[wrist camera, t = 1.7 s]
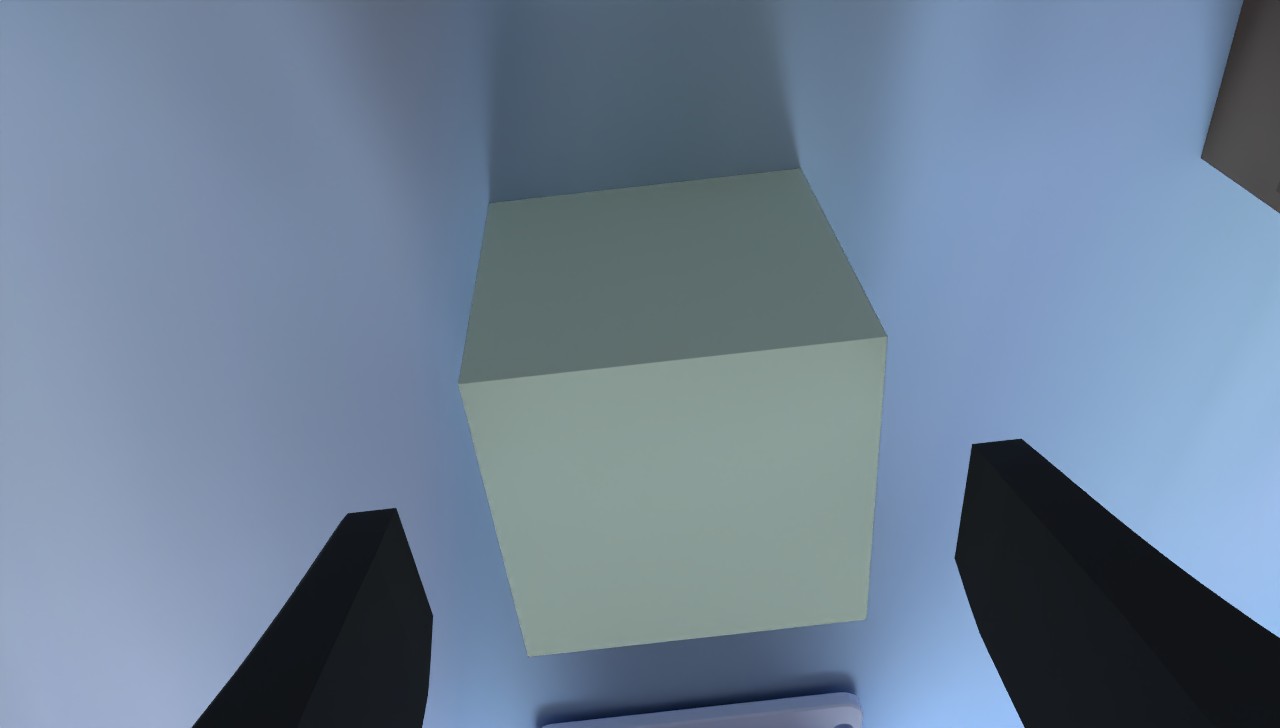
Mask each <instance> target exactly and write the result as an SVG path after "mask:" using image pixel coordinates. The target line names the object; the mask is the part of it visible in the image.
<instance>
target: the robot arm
mask: <svg viewBox="0 0 1280 728" xmlns="http://www.w3.org/2000/svg"><path fill="white" fill-rule="evenodd" d="M955 561H956V564H957V567H958V570H959V573H960V576H961V579H962V582H963V586H964V589H965V592H966V595H967V598H968V601H969V604H970V607H971V610H972V612H973V615H974V618H975V621H976V624H977V627H978V630H979V633H980V635H981V637H982V639H983V641H984V643H985V646H986V648H987V650H988V652H989V654H990V656H991V658H992V660H993V663H994V665H995V667H996V669H997V671H998V673H999V675H1000V677H1001V679H1002V682H1003V684H1004V686H1005V688H1006V690H1007V692H1008V694H1009V696H1010V698H1011V700H1012V702H1013V704H1014V707H1015V709H1016V711H1017V713H1018V715H1019V717H1020V719H1021V721H1022V723H1023V725H1024V727H1025V728H1280V638H1279V637H1277V636H1276V635H1274V634H1273V633H1271V632H1270V631H1268V630H1267V629H1265V628H1264V627H1262V626H1261V625H1259V624H1258V623H1256V622H1255V621H1253V620H1252V619H1251V618H1249V617H1248V616H1246V615H1245V614H1244V613H1242V612H1241V611H1239V610H1238V609H1237V608H1235V607H1234V606H1232V605H1231V604H1229V603H1228V602H1227V601H1225V600H1224V599H1222V598H1221V597H1220V596H1218V595H1217V594H1215V593H1214V592H1213V591H1211V590H1210V589H1208V588H1207V587H1205V586H1204V585H1203V584H1201V583H1200V582H1199V581H1197V580H1196V579H1195V578H1193V577H1192V576H1191V575H1189V574H1188V573H1187V572H1185V571H1184V570H1183V569H1181V568H1180V567H1179V566H1177V565H1176V564H1175V563H1173V562H1172V561H1171V560H1169V559H1168V558H1167V557H1165V556H1164V555H1163V554H1161V553H1160V552H1159V551H1158V550H1156V549H1155V548H1154V547H1153V546H1151V545H1150V544H1149V543H1147V542H1146V541H1145V540H1144V539H1142V538H1141V537H1140V536H1139V535H1137V534H1136V533H1135V532H1133V531H1132V530H1131V529H1130V528H1128V527H1127V526H1126V525H1125V524H1124V523H1122V522H1121V521H1120V520H1119V519H1117V518H1116V517H1115V516H1114V515H1112V514H1111V513H1110V512H1109V511H1108V510H1106V509H1105V508H1104V507H1103V506H1101V505H1100V504H1099V503H1098V502H1097V501H1095V500H1094V499H1093V498H1092V497H1091V496H1089V495H1088V494H1087V493H1086V492H1085V491H1083V490H1082V489H1081V488H1080V487H1079V486H1077V485H1076V484H1075V483H1074V482H1073V481H1071V480H1070V479H1069V478H1068V477H1067V476H1065V475H1064V474H1063V473H1062V472H1061V471H1060V470H1058V469H1057V468H1056V467H1055V466H1054V465H1052V464H1051V463H1050V462H1049V461H1048V460H1046V459H1045V458H1044V457H1043V456H1042V455H1040V454H1039V453H1038V452H1037V451H1036V450H1034V449H1033V448H1032V447H1031V446H1030V445H1028V444H1027V443H1026V442H1025V441H1023V440H1022V439H1015V440H1006V441H996V442H987V443H978V444H972V449H971V456H970V462H969V469H968V475H967V482H966V488H965V495H964V501H963V508H962V514H961V521H960V527H959V534H958V540H957V547H956V553H955ZM432 625H433V614H432V611H431V609H430V606H429V603H428V600H427V597H426V594H425V591H424V588H423V585H422V582H421V579H420V576H419V573H418V570H417V568H416V565H415V562H414V559H413V556H412V553H411V550H410V547H409V544H408V541H407V538H406V535H405V532H404V529H403V527H402V524H401V521H400V518H399V515H398V512H397V509H396V508H392V509H383V510H374V511H365V512H356V513H348V514H347V515H346V516H345V517H344V519H343V520H342V521H341V522H340V524H339V525H338V527H337V528H336V530H335V531H334V533H333V534H332V536H331V537H330V539H329V540H328V542H327V543H326V545H325V546H324V548H323V549H322V550H321V552H320V553H319V555H318V556H317V558H316V559H315V561H314V562H313V564H312V565H311V567H310V568H309V570H308V571H307V573H306V574H305V576H304V577H303V579H302V580H301V582H300V583H299V585H298V586H297V587H296V589H295V590H294V592H293V593H292V595H291V596H290V598H289V599H288V601H287V602H286V603H285V605H284V606H283V608H282V609H281V611H280V612H279V613H278V615H277V616H276V617H275V619H274V620H273V622H272V623H271V624H270V626H269V627H268V629H267V630H266V631H265V633H264V634H263V635H262V637H261V638H260V640H259V641H258V642H257V644H256V645H255V647H254V648H253V649H252V651H251V652H250V653H249V655H248V656H247V658H246V659H245V660H244V662H243V663H242V664H241V666H240V667H239V668H238V670H237V671H236V672H235V673H234V675H233V676H232V677H231V678H230V680H229V681H228V682H227V684H226V685H225V686H224V687H223V689H222V690H221V691H220V692H219V694H218V695H217V696H216V697H215V699H214V700H213V701H212V702H211V704H210V705H209V706H208V708H207V709H206V710H205V711H204V713H203V714H202V715H201V716H200V718H199V719H198V720H197V721H196V723H195V724H194V725H193V726H192V728H422V725H423V719H424V714H425V708H426V702H427V697H428V688H429V674H430V661H431V643H432ZM862 721H863V712H862V708H861V705H860V701H859V698H858V697H856V696H855V695H854V694H851V693H847V692H837V693H828V694H819V695H810V696H801V697H792V698H783V699H774V700H764V701H755V702H746V703H737V704H728V705H719V706H710V707H701V708H692V709H683V710H674V711H664V712H655V713H646V714H637V715H628V716H619V717H610V718H601V719H592V720H583V721H574V722H565V723H555V724H549V725H545V726H543V727H541V728H862Z"/></svg>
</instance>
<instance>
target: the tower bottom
mask: <svg viewBox="0 0 1280 728" xmlns="http://www.w3.org/2000/svg"><path fill="white" fill-rule="evenodd" d="M1201 158H1202V159H1203V160H1204V161H1206V162H1207V163H1209V164H1210V165H1212V166H1213V167H1214V168H1216V169H1217V170H1219V171H1220V172H1222V173H1223V174H1224V175H1226V176H1227V177H1229V178H1230V179H1232V180H1233V181H1234V182H1236V183H1237V184H1239V185H1240V186H1242V187H1243V188H1244V189H1246V190H1247V191H1249V192H1250V193H1252V194H1253V195H1254V196H1256V197H1257V198H1259V199H1260V200H1262V201H1263V202H1264V203H1266V204H1267V205H1269V206H1270V207H1272V208H1273V209H1274V210H1276V211H1277V212H1279V213H1280V193H1278V192H1277V191H1276V189H1277V187H1278V184H1279V182H1280V0H1244V1H1243V5H1242V9H1241V12H1240V16H1239V20H1238V23H1237V27H1236V31H1235V34H1234V38H1233V42H1232V45H1231V49H1230V53H1229V56H1228V60H1227V64H1226V67H1225V71H1224V75H1223V78H1222V82H1221V86H1220V89H1219V93H1218V97H1217V100H1216V104H1215V108H1214V111H1213V115H1212V119H1211V122H1210V126H1209V130H1208V133H1207V137H1206V141H1205V144H1204V148H1203V152H1202V155H1201Z"/></svg>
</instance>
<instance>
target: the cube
mask: <svg viewBox="0 0 1280 728" xmlns="http://www.w3.org/2000/svg"><path fill="white" fill-rule="evenodd" d="M886 350H887V335H886V333H885V331H884V329H883V327H882V325H881V323H880V321H879V319H878V317H877V315H876V313H875V311H874V309H873V307H872V306H871V304H870V302H869V300H868V298H867V296H866V294H865V292H864V290H863V288H862V286H861V284H860V282H859V280H858V278H857V276H856V274H855V273H854V271H853V269H852V267H851V265H850V263H849V261H848V259H847V257H846V255H845V253H844V251H843V249H842V247H841V245H840V243H839V241H838V240H837V238H836V236H835V234H834V232H833V230H832V228H831V226H830V224H829V222H828V220H827V218H826V216H825V214H824V212H823V210H822V208H821V207H820V205H819V203H818V201H817V199H816V197H815V195H814V193H813V191H812V189H811V187H810V185H809V183H808V181H807V179H806V177H805V175H804V174H803V172H802V170H801V168H798V169H789V170H780V171H771V172H762V173H753V174H744V175H735V176H726V177H717V178H708V179H699V180H690V181H681V182H672V183H663V184H654V185H645V186H636V187H627V188H618V189H609V190H600V191H591V192H582V193H573V194H564V195H555V196H546V197H537V198H528V199H520V200H511V201H502V202H493V203H489V206H488V212H487V218H486V224H485V230H484V236H483V241H482V247H481V253H480V259H479V265H478V271H477V277H476V283H475V288H474V294H473V300H472V306H471V312H470V318H469V324H468V330H467V335H466V341H465V347H464V353H463V359H462V365H461V371H460V377H459V382H458V386H459V390H460V393H461V397H462V401H463V405H464V409H465V413H466V417H467V421H468V425H469V429H470V433H471V436H472V440H473V444H474V448H475V452H476V456H477V460H478V464H479V468H480V472H481V476H482V479H483V483H484V487H485V491H486V495H487V499H488V503H489V507H490V511H491V515H492V518H493V522H494V526H495V530H496V534H497V538H498V542H499V546H500V550H501V554H502V558H503V561H504V565H505V569H506V573H507V577H508V581H509V585H510V589H511V593H512V597H513V601H514V604H515V608H516V612H517V616H518V620H519V624H520V628H521V632H522V636H523V640H524V643H525V647H526V651H527V655H528V657H533V656H542V655H551V654H560V653H569V652H578V651H587V650H596V649H605V648H614V647H623V646H632V645H641V644H650V643H659V642H668V641H677V640H686V639H695V638H705V637H714V636H723V635H732V634H741V633H750V632H759V631H768V630H777V629H786V628H795V627H804V626H813V625H822V624H831V623H840V622H849V621H858V620H866V618H867V604H868V591H869V578H870V564H871V551H872V537H873V524H874V511H875V497H876V484H877V470H878V457H879V444H880V430H881V417H882V404H883V390H884V377H885V363H886Z"/></svg>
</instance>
